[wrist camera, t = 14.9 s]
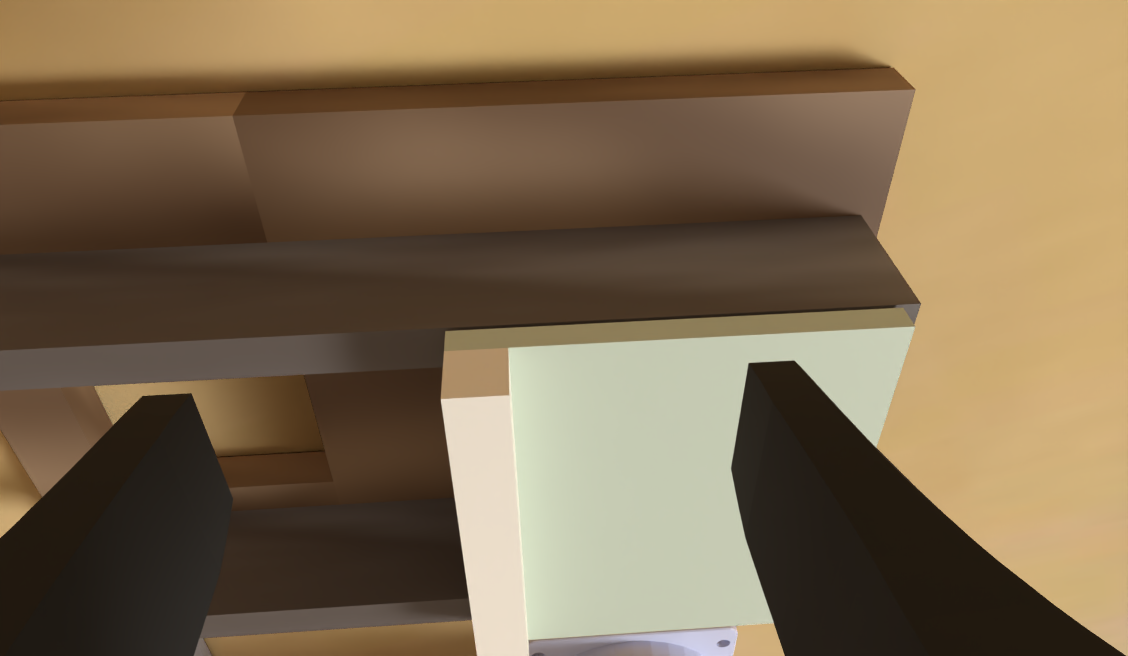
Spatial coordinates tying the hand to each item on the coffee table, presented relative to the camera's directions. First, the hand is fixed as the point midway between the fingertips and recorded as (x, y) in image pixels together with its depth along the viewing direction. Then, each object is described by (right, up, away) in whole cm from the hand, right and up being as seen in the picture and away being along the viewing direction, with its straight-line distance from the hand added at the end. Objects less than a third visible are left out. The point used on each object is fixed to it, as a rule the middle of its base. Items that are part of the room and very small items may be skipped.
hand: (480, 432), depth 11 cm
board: (-2, 0, +12) cm, 12 cm away
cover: (+3, -2, +8) cm, 9 cm away
